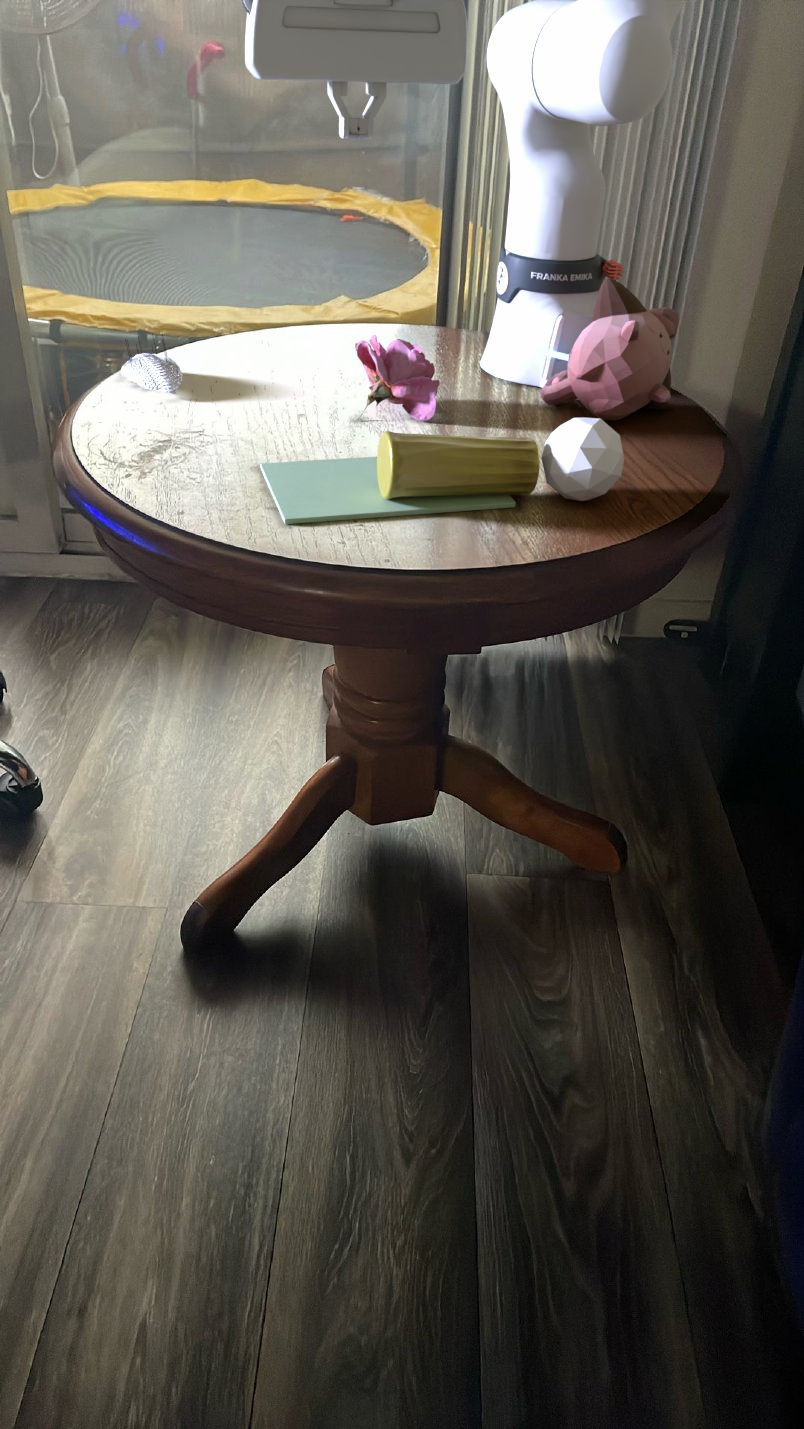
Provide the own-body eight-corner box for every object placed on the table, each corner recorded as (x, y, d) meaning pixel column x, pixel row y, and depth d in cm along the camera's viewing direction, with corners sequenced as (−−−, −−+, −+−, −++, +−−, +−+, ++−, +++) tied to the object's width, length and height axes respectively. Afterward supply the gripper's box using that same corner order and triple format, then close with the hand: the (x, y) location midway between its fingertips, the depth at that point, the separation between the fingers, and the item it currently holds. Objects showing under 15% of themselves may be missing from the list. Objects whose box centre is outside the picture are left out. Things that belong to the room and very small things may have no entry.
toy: (598, 312, 105) (671, 242, 111) (494, 345, 117) (565, 280, 123) (661, 451, 112) (726, 378, 119) (558, 469, 125) (621, 401, 131)
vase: (383, 513, 95) (528, 512, 98) (394, 464, 90) (546, 464, 93) (373, 467, 98) (514, 467, 102) (383, 416, 93) (530, 418, 97)
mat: (470, 455, 107) (470, 450, 107) (515, 507, 97) (515, 502, 96) (260, 468, 101) (259, 463, 101) (284, 524, 91) (284, 519, 91)
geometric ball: (559, 513, 103) (560, 434, 103) (636, 504, 98) (637, 421, 99) (526, 497, 96) (527, 413, 97) (608, 487, 92) (608, 398, 92)
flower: (402, 420, 124) (456, 355, 119) (406, 458, 116) (464, 390, 111) (325, 363, 119) (378, 293, 114) (324, 399, 111) (380, 325, 106)
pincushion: (198, 392, 117) (189, 342, 113) (148, 405, 114) (136, 354, 111) (159, 364, 125) (149, 317, 122) (111, 376, 123) (100, 328, 119)
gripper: (245, -50, 84) (252, 142, 92) (480, -37, 89) (467, 143, 97) (233, -50, 89) (240, 132, 97) (456, -38, 94) (445, 134, 102)
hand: (356, 138), depth 97 cm, fingers closed
